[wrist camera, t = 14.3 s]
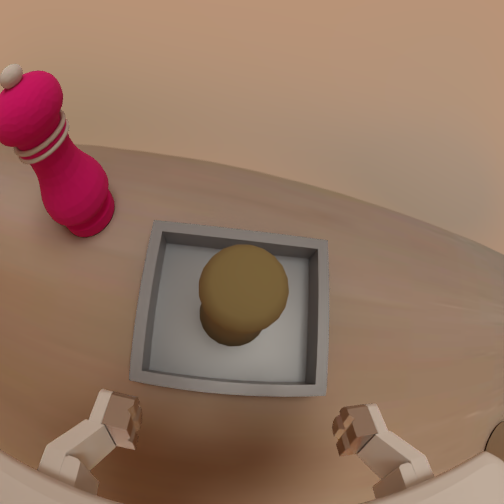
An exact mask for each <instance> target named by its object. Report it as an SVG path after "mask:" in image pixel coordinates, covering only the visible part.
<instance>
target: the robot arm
mask: <svg viewBox="0 0 504 504" xmlns="http://www.w3.org/2000/svg"><path fill="white" fill-rule="evenodd" d="M339 412H340V415H338V416H337V417H336V418H335V419H334V421H333V425H332V430H333V435H334V437H335V438H337V439H338V442H337V444H336V446H337V449H338V453H339V456H346V455H353V454H357V456H358V457H359V458H360V459H361V460H362V461H363V462H364V463H365V464H366V465H367V466H368V467H369V468H370V469H371V470H372V471H373V472H375V473H376V474H377V475H378V476H379V477H380V478H381V479H382V480H380V481H379V482H378V483H376V484H375V485H374V486H373V491H374V494H375V498H376V499H375V500H371V501H368V502H364V503H360V504H504V462H503V461H502V460H501V459H500V458H498V457H496V456H495V455H493V454H491V453H489V452H487V451H483V452H480V453H478V454H477V455H475V456H473V457H472V458H470V459H468V460H466V461H465V462H463V463H461V464H459V465H457V466H455V467H454V468H452V469H450V470H448V471H446V472H444V473H442V474H440V475H437V476H435V477H434V474H433V472H432V470H431V467H430V465H429V463H428V460H427V458H426V456H425V455H424V454H423V453H421V452H420V451H418V450H417V449H415V448H414V447H413V446H411V445H410V444H408V443H407V442H406V441H404V440H403V439H401V438H400V437H399V436H397V435H396V434H395V433H393V432H392V431H388V429H387V427H386V425H385V422H384V420H383V418H382V415H381V413H380V411H379V408H378V406H377V405H376V404H375V403H371V404H362V405H355V406H347V407H343V408H341V410H340V411H339ZM141 424H142V409H141V407H139V399H138V397H135V396H130V395H126V394H122V393H117V392H114V391H110V390H106V389H101V390H100V392H99V394H98V396H97V399H96V401H95V404H94V407H93V409H92V412H91V414H90V417H89V420H87V419H85V420H83V421H82V422H80V423H79V424H77V425H76V426H74V427H73V428H71V429H70V430H68V431H67V432H65V433H64V434H62V435H61V436H59V437H58V438H56V439H55V440H53V441H52V442H50V443H49V444H47V445H46V448H45V450H44V453H43V456H42V458H41V461H40V464H39V467H38V470H35V469H34V468H32V467H30V466H28V465H26V464H24V463H23V462H21V461H19V460H17V459H16V458H14V457H12V456H11V455H9V454H7V453H6V452H4V451H3V450H1V449H0V504H124V503H120V502H117V501H113V500H110V499H106V498H103V497H100V496H97V491H98V486H99V481H98V480H97V478H96V477H95V476H94V475H93V474H92V473H91V472H90V470H91V469H92V468H94V467H95V466H96V465H97V464H98V463H99V462H100V461H101V460H102V459H103V458H105V457H106V456H107V455H108V454H109V453H110V452H111V451H112V450H113V449H114V448H115V447H116V446H119V447H123V448H128V449H133V450H136V446H137V442H138V434H137V431H138V430H139V429H140V428H141Z"/></svg>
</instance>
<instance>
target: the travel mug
mask: <svg viewBox="0 0 504 504" xmlns="http://www.w3.org/2000/svg"><path fill="white" fill-rule="evenodd" d="M486 451H487V452H489V453H491V454H493V455H495V456H496V457H498V458H500V459H501V460H502V461H503V462H504V422H501V423H500V424H499V425H498V426H497V427H496V429H495V430H494V432H493V433H492V435H491V437H490V439H489V441H488V444H487V447H486Z"/></svg>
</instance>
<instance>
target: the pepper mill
mask: <svg viewBox="0 0 504 504" xmlns="http://www.w3.org/2000/svg"><path fill="white" fill-rule="evenodd" d="M22 74H23V73H22V68H21V67H20V65H18V64H11V65H9V66H7V67H6V68H5V69H4V70H3V72H2V73H1V76H0V84H1V86H2V87H3V88H5V89H4V90H3V91H2V92H1V94H0V142H1V143H2V144H4V145H5V146H10V147H14V152H15V154H16V155H18V156H19V159H20V161H21V162H23V163H25V164H30V165H31V166H32V168H33V169H34V171H35V173H36V175H37V177H38V180H39V184H40V189H41V196H42V201H43V203H44V206H45V208H46V210H47V212H48V213H49V215H50V216H51V217H52V219H53V220H54V221H56V222H57V223H59V224H61V225H65V226H66V227H67V228H68V229H69V230H70V231H71V232H72V233H73V234H74V235H76V236H80V237H89V236H93V235H95V234H97V233H99V232H100V231H101V230H103V229H104V228H105V227H106V226H107V224H108V223H109V222H110V220H111V218H112V215H113V212H114V200H113V197H112V195H111V193H110V191H109V189H108V178H107V175H106V173H105V171H104V170H103V168H102V167H101V165H100V164H99V163H98V162H97V161H96V160H95V159H94V158H92V157H91V156H89V155H88V154H86V153H84V152H82V151H81V150H80V149H78V148H77V147H76V146H75V145H74V144H73V142H72V141H71V139H70V138H69V135H68V131H69V122H68V120H67V119H66V117H65V113H64V112H63V111H62V110H61V107H62V102H63V93H62V89H61V87H60V84H59V82H58V81H57V79H56V78H55V77H54V76H53V75H52V74H50V73H47V72H45V71H32V72H29V73H26V74H23V75H22Z"/></svg>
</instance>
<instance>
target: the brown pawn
mask: <svg viewBox="0 0 504 504" xmlns="http://www.w3.org/2000/svg"><path fill="white" fill-rule="evenodd" d="M288 295H289V286H288V278H287V275H286V273H285V270H284V268H283V266H282V265H281V263H280V262H279V261H278V260H277V259H276V257H275V256H274V255H272V254H271V253H269V252H268V251H266V250H265V249H263V248H260V247H257V246H253V245H248V244H237V245H233V246H230V247H227V248H224V249H222V250H221V251H219V252H218V253H216V254H215V255H214V256H212V258H211V259H210V260H209V261H208V263H207V264H206V265H205V267H204V268H203V271H202V273H201V276H200V279H199V298H200V301H201V306H200V321H201V324H202V327H203V329H204V330H205V332H206V333H207V334H208V336H209V337H210V338H212V339H213V340H215V341H216V342H217V343H219V344H223V345H226V346H241V345H244V344H247V343H250V342H251V341H252V340H254V339H255V338H256V337H257V336H258V335H259V334H260V332H261V331H262V330H263V329H266V328H268V327H269V326H270V325H271V324H273V323H274V322H275V321H276V320H277V319H278V318H279V317H280V315H281V314H282V312H283V310H284V309H285V307H286V303H287V299H288Z"/></svg>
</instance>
